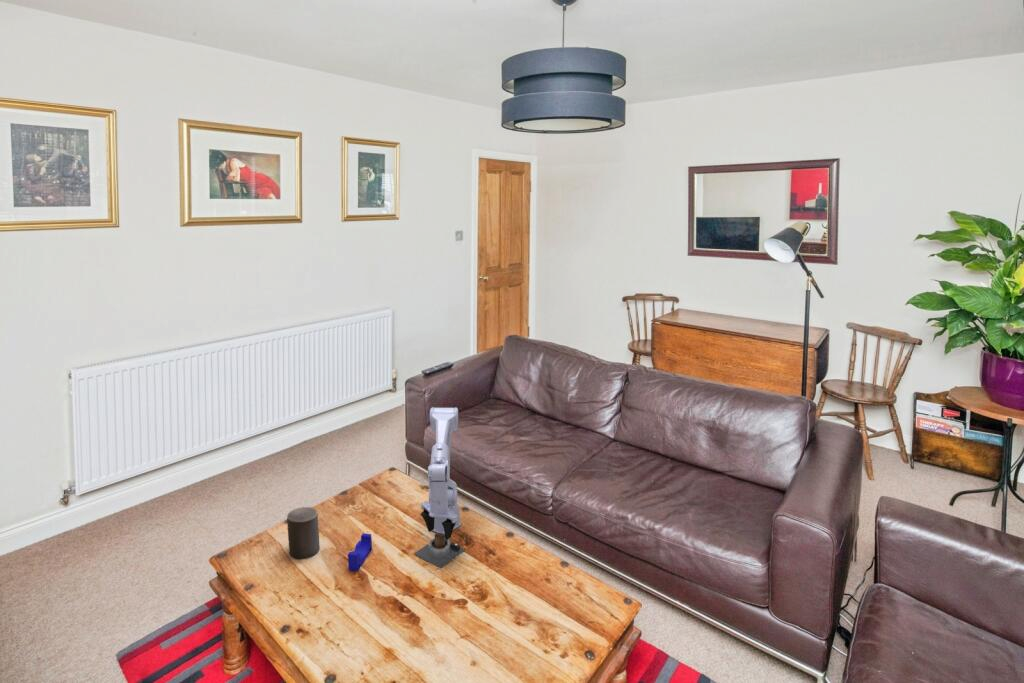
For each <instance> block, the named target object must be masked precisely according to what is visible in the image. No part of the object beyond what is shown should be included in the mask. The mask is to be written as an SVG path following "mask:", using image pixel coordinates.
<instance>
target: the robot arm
mask: <svg viewBox="0 0 1024 683" xmlns="http://www.w3.org/2000/svg"><path fill="white" fill-rule="evenodd" d="M429 423H430V428H431V430H432V431H434V432H435V444H434V445H432V447H431V455H430V464H429V465H428V467H427V478H428V486H429V491H428V501H424V502H422V503H421V504H420V508H421V510H423V511H421V513H420V516H421V517H422V519H423V520H424V524H425V525H426V529H427V532H429V533H430V532H435V533H444V534H445V539H446V540H448V539H449V540H450V539H451V538H452V533H453V531H454V530H456V529H457V528H459V527H460V526H461V525H462V522H460V519H461V518H460V506H459V503H458V485H457V482H456V481H454V480H452V479H451V476H450V475H451V474H450V471H451V438H452V435H453V432H455V431H457V430H458V428H459V427H458V426H459V409H458V408H457V406H455V407H434V406H432V407H431V408H430V409H429Z"/></svg>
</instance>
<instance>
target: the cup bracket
mask: <svg viewBox="0 0 1024 683" xmlns="http://www.w3.org/2000/svg"><path fill="white" fill-rule="evenodd" d="M465 551H466V549H465V548H463V547H461V546H460V544H458V542H452V541H450V538H449V539H448V540H446V539H445V547H443V548H435V537H433V538H432V539H431V540H429V542H428V544H426V545H425V546H423V547H421V548H420V549H418V550H417V551H415V552H414V554H413V555H414V556H415V555H416V557H417V556H418V557H417V558H419V557H420V559H421V558H422V559H421V560H424V561H425V562H428V563H430V564H432V565H434V566H436V567H437V568H439V567H440V568H439V569H442V568H443V566H444V565H445V564H446V565H448V564H449V563H450V562H452V561H453V560H455V559H456V558H457V557H458V556H460V555H461V554H462V553H464V552H465ZM460 553H461V554H460ZM459 554H460V555H459ZM456 556H457V557H456ZM455 557H456V558H455ZM452 559H453V560H452ZM451 560H452V561H451ZM449 561H450V562H449ZM448 562H449V563H448ZM447 563H448V564H447ZM446 565H445V566H446ZM445 566H444V567H445Z"/></svg>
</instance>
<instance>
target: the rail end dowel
mask: <svg viewBox="0 0 1024 683" xmlns="http://www.w3.org/2000/svg"><path fill="white" fill-rule="evenodd" d="M434 538H435V548H443V547H445V534H444V533H437V532H435V534H434Z"/></svg>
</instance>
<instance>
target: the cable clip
mask: <svg viewBox="0 0 1024 683" xmlns="http://www.w3.org/2000/svg"><path fill="white" fill-rule="evenodd" d="M372 540H373V539H372V533H364V532H363V533H362V534H361V536H360V540H358V541H357V543H356V545H355V548H354V551H349V552H348V554H347V561H348V562H347V565H348V571H351V572H359V570H360V569H361V567H362V566H363V564H364V562H365V561H366V559H367V558H368V556H369V555H370V553H371V552H372V551H373V542H372Z"/></svg>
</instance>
